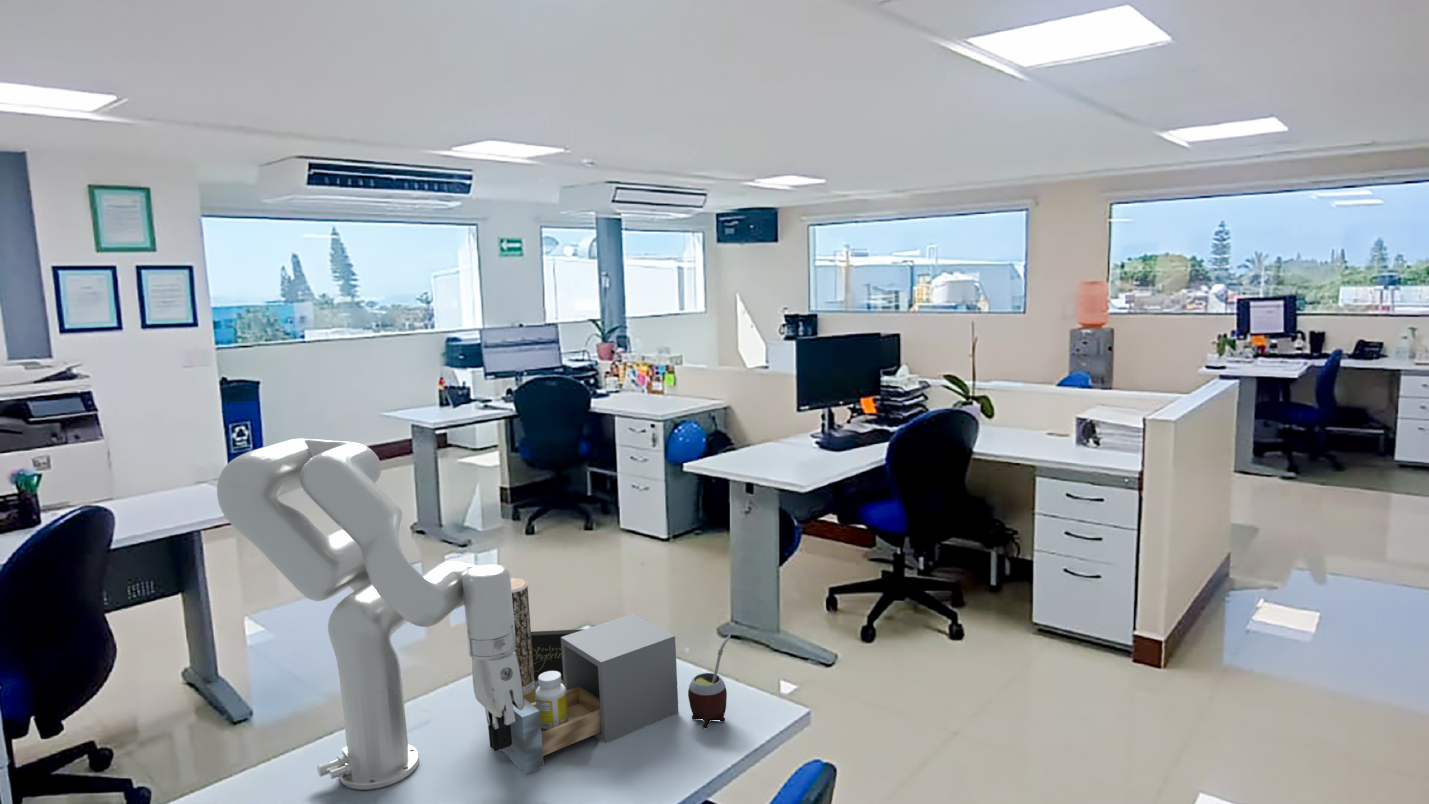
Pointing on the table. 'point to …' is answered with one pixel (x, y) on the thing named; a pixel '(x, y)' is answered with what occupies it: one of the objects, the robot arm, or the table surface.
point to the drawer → (552, 729)
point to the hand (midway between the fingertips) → (501, 746)
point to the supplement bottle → (551, 700)
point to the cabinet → (624, 672)
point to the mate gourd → (708, 694)
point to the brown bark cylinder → (523, 637)
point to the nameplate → (548, 651)
